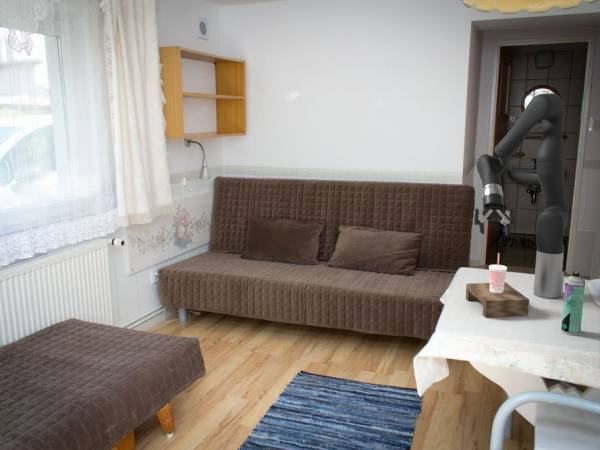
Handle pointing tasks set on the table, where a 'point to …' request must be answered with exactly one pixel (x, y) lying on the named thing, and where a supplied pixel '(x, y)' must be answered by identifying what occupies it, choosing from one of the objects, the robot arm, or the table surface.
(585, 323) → the table surface
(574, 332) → the spray can
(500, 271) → the beverage cup
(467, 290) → the walnut shelf stand
